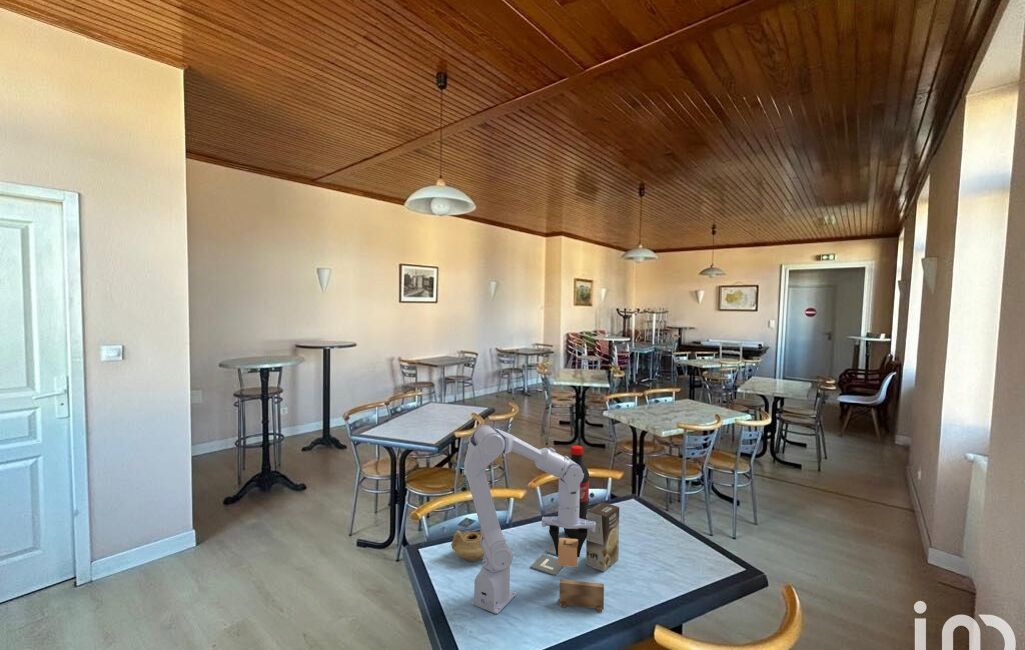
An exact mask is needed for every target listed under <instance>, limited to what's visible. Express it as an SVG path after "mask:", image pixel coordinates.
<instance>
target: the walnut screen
mask: <svg viewBox="0 0 1025 650" xmlns="http://www.w3.org/2000/svg"><path fill="white" fill-rule="evenodd" d="M604 600H605V586H604V583H598V582H589V581H580V580H570V579H559V605H560V608H562V609H566V606H572V607H580V608H590V609H596V610H597V611H596V612H598V613H603V610H604V609H605V608H604V607H605V606H604V605H605V601H604Z"/></svg>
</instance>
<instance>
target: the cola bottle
mask: <svg viewBox="0 0 1025 650" xmlns="http://www.w3.org/2000/svg"><path fill="white" fill-rule="evenodd" d="M570 455H571V457H570V460H572V461H573V462H575V463H576V464H578V465H579V466H580V467H581V468H582V472H583V473H584V478H583V480H582V482H581V483H580V494H579V518H580V519H584V520H587V510H589V504H590V495H589V494H590V473H589V470H588V467H587V466H586V463H585V462H584V458H583V455H584V448H583V446H581V445H572V446H571V448H570ZM563 531H564V534H565V536H566V538H569V539H578V529H567V528H563Z"/></svg>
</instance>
